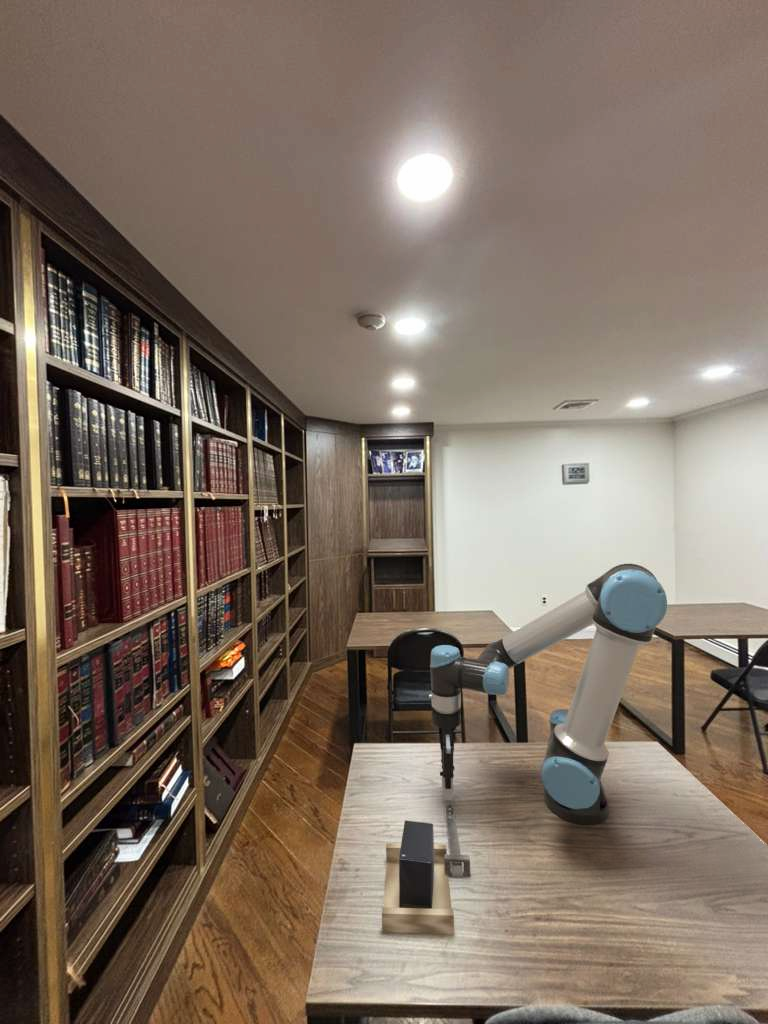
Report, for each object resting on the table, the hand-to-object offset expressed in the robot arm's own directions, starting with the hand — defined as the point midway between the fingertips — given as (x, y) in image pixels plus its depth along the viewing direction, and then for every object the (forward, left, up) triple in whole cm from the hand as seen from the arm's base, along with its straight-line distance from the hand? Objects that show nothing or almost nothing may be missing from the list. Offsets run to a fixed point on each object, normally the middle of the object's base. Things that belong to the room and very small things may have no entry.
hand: (447, 797), depth 114 cm
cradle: (+6, +27, -1) cm, 27 cm away
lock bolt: (0, +14, -1) cm, 14 cm away
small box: (+8, +27, -1) cm, 28 cm away
